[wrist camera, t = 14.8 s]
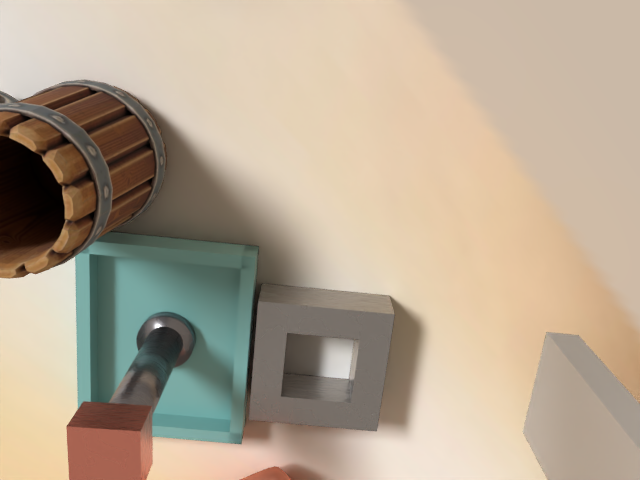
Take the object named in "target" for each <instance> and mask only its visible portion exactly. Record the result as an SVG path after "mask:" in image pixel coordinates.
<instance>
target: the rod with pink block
mask: <svg viewBox="0 0 640 480" xmlns="http://www.w3.org/2000/svg"><path fill="white" fill-rule="evenodd" d="M136 343H137V348H138V351H139V352H138V354H137V355H136V357H135V359H134V360H133V362H132V364H131V365H130V367H129V369H128V371H127V372H126V374H125V376H124V377H123V379H122V381H121V382H120V384H119V386H118V388H117V389H116V391H115V393H114V394H113V396H112V398H111V399H110V401H109V403H103V402H88V401H83V403H82V404H81V406H80V407H79V409H78V410H77V412H76V413H75V415H74V416H73V418H72V419H71V421H70V422H69V424H68V425H67V444H68V462H69V480H146V478H147V476H148V473H149V471H150V468H151V466H152V415H153V413H154V411H155V409H156V406H157V404H158V402H159V400H160V398H161V395H162V393H163V391H164V389H165V386H166V384H167V382H168V380H169V378H170V375H171V373H172V371H173V369H174V368H175V367H178V366H180V365H182V364H183V363H185V362H186V361H187V360H188V359H189V357H190V356H191V354H192V351H193V349H194V347H195V343H196V335H195V331H194V328H193V326H192V325H191V323H190V322H189V321H188V320H187V319H186V318H184V317H183V316H181V315H179V314H176V313H173V312H159V313H156V314H153V315H151V316H150V317H148V318H147V319H146V320H145V322H144V323H143V324H142V326H141V328H140V329H139V331H138V334H137V338H136Z"/></svg>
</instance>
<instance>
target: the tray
mask: <svg viewBox="0 0 640 480" xmlns="http://www.w3.org/2000/svg"><path fill="white" fill-rule="evenodd" d="M258 251H259V246H250V245H240V244H229V243H219V242H209V241H199V240H189V239H179V238H169V237H159V236H148V235H138V234H128V233H118V232H107V233H106V234H104V235H103V236H101V237H99V238H98V239H96V240H95V242H94V243H93V244H91V245H90V246H89V247H87V248H86V249H85V250H83V251H82V252H81V253H79V254H78V255H76V256H75V261H76V321H77V381H78V409H79V407H80V406H81V404H82V403H83V401H88V402H103V403H109V401H110V399H111V398H112V396H113V394H114V393H115V391H116V389H117V388H118V386H119V384H120V382H121V381H122V379H123V377H124V376H125V374H126V372H127V371H128V369H129V367H130V365H131V364H132V362H133V360H134V359H135V357H136V355H137V354H138V352H139V351H138V348H137V343H136V338H137V334H138V331H139V329H140V328H141V326H142V324H143V323H144V322H145V320H146V319H147V318H148V317H150V316H151V315H153V314H156V313H159V312H173V313H176V314H179V315H181V316H183V317H184V318H186V319H187V320H188V321H189V322H190V323H191V325H192V326H193V328H194V331H195V335H196V343H195V347H194V349H193V351H192V354H191V356H190V357H189V359H188V360H187V361H186V362H185V363H183V364H182V365H180V366H178V367H175V368H174V369H173V371H172V373H171V375H170V378H169V380H168V382H167V384H166V386H165V389H164V391H163V393H162V395H161V398H160V400H159V402H158V404H157V406H156V409H155V411H154V413H153V415H152V436H154V437H166V438H177V439H188V440H200V441H211V442H222V443H234V444H241V443H242V438H243V432H244V427H245V417H246V404H247V392H248V379H249V366H250V353H251V341H252V328H253V315H254V302H255V290H256V277H257V264H258Z"/></svg>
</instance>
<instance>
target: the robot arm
mask: <svg viewBox="0 0 640 480" xmlns="http://www.w3.org/2000/svg"><path fill="white" fill-rule="evenodd" d="M523 434H524V436H525V437H526V439H527V441H528V443H529V445H530V447H531V449H532V451H533V453H534V455H535V456H536V458H537V460H538V462H539V464H540V466H541V468H542V470H543V472H544V474H545V476H546V477H547V479H548V480H640V404H639V402H638V401H637V400H636V399H635V398H634V397H633V396H632V395H631V393H630V392H629V391H628V390H627V389H626V388H625V387H624V386H623V384H622V383H621V382H620V381H619V380H618V379H617V378H616V377H615V376H614V374H613V373H612V372H611V371H610V370H609V369H608V368H607V367H606V365H605V364H604V363H603V362H602V361H601V360H600V359H599V358H598V357H597V355H596V354H595V353H594V352H593V351H592V350H591V349H590V348H589V346H588V345H587V344H586V343H585V342H584V341H583V340H582V339H581V337H580V336H579V335H572V334H561V333H551V332H546V336H545V340H544V345H543V349H542V353H541V357H540V361H539V366H538V370H537V374H536V378H535V382H534V387H533V391H532V395H531V399H530V403H529V408H528V412H527V416H526V420H525V424H524V429H523Z"/></svg>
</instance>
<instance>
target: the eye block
mask: <svg viewBox="0 0 640 480" xmlns="http://www.w3.org/2000/svg"><path fill="white" fill-rule="evenodd" d="M394 316H395V313H394V310H393V306H392V303H391V299H390V296H387V295H377V294H367V293H356V292H346V291H336V290H325V289H315V288H305V287H294V286H284V285H274V284H263V283H262V287H261V292H260V296H259V300H258V310H257V322H256V335H255V347H254V360H253V372H252V384H251V397H250V409H249V420H256V421H267V422H278V423H289V424H300V425H312V426H323V427H334V428H345V429H356V430H368V431H377V427H378V420H379V414H380V407H381V401H382V394H383V388H384V381H385V375H386V368H387V362H388V355H389V349H390V342H391V336H392V329H393V323H394ZM287 333H294V334H304V335H315V336H325V337H336V338H347V339H354V345H353V352H352V360H351V367H350V375H349V379H340V378H329V377H318V376H307V375H296V374H285V373H283V372H284V361H285V351H286V341H287Z"/></svg>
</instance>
